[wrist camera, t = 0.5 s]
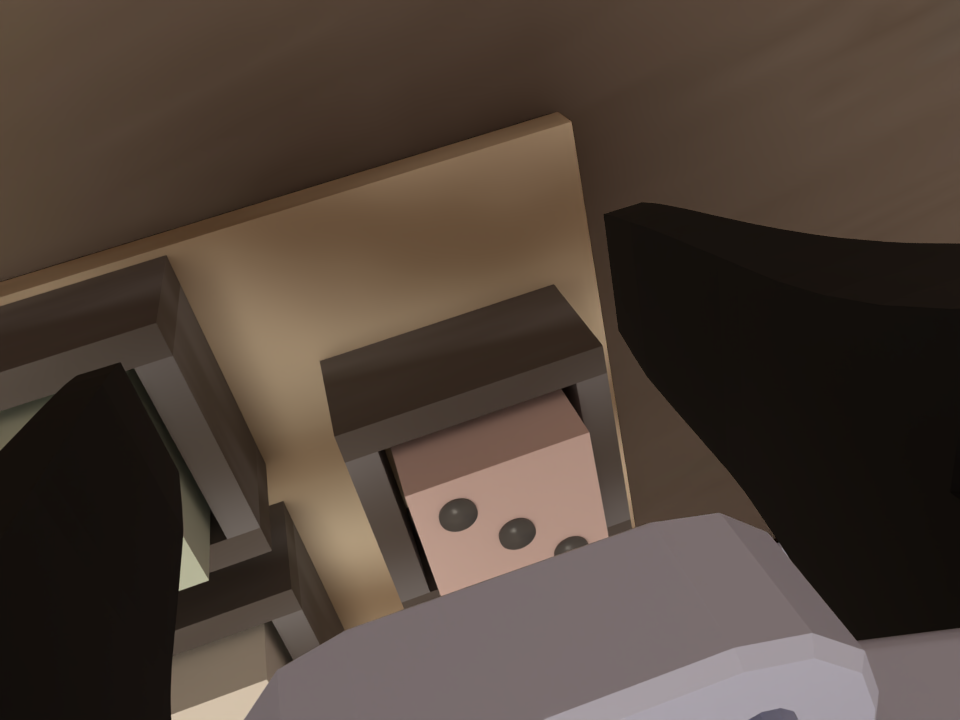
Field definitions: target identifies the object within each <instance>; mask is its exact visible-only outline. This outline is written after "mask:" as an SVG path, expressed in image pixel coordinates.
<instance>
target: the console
mask: <svg viewBox="0 0 960 720" xmlns="http://www.w3.org/2000/svg"><path fill="white" fill-rule="evenodd" d="M119 362H121V364H122V366H123V368H124V369H125V371H127V370H130V369H133V368H134V369H135V371H136V373H137V375H138V376H139V378H140V380H141V382H142V384H143V386H144V387H145V389H146V391H147V393H148V395H149V396H150V398H151V400H152V402H153V404H154V406H155V407H156V409H157V411H158V413H159V415H160V417H161V418H162V420H163V422H164V424H165V426H166V428H167V429H168V431H169V433H170V435H171V437H172V439H173V440H174V442H175V444H176V446H177V448H178V450H179V451H180V453H181V455H182V457H183V459H184V461H185V462H186V464H187V466H188V468H189V470H190V472H191V473H192V475H193V477H194V479H195V481H196V483H197V484H198V486H199V488H200V490H201V492H202V494H203V495H204V497H205V499H206V501H207V503H208V505H209V506H210V508H211V510H210V556H209V581H206V582H203V583H200V584H197V585H195V586H192V587H189V588H186V589H183V590H180V591H179V593H178V604H177V614H176V625H175V636H174V647H173V656H175V655H178V654H180V653H183V652H186V651H189V650H191V649H194V648H197V647H200V646H203V645H205V644H208V643H211V642H214V641H216V640H219V639H222V638H225V637H228V636H230V635H233V634H236V633H239V632H241V631H244V630H247V629H250V628H253V627H255V626H258V625H261V624H264V623H266V622H269V621H272V622H273V624H274V626H275V627H276V629H277V631H278V633H279V635H280V637H281V638H282V640H283V642H284V644H285V646H286V648H287V649H288V651H289V653H290V655H291V657H292V658H293V660H295V659H296V658H298V657H300V656H302V655H303V654H305V653H307V652H309V651H310V650H312V649H314V648H315V647H317V646H319V645H321V644H322V643H324V642H326V641H328V640H329V639H331V638H333V637H335V636H336V635H338V634H340V633H341V632H343V631H345V630H347V629H349V628H352V627H355V626H358V625H361V624H363V623H366V622H369V621H372V620H375V619H378V618H380V617H383V616H386V615H389V614H392V613H395V612H397V611H400V610H403V609H406V608H409V607H412V606H414V605H417V604H420V603H423V602H426V601H429V600H431V599H434V598H437V597H440V596H441V595H440V592H439V590H438V587H437V584H436V581H435V579H434V576H433V573H432V570H431V568H430V565H429V562H428V559H427V557H426V554H425V551H424V548H423V546H422V543H421V540H420V537H419V535H418V532H417V529H416V526H415V524H414V521H413V518H412V515H411V513H410V510H409V507H408V504H407V502H406V499H405V496H404V492H403V489H402V485H401V482H400V478H399V475H398V472H397V468H396V465H395V461H394V458H393V454H392V451H391V447H393V446H396V445H398V444H401V443H404V442H407V441H410V440H413V439H416V438H419V437H422V436H425V435H428V434H430V433H433V432H436V431H439V430H442V429H445V428H448V427H451V426H454V425H457V424H460V423H463V422H465V421H468V420H471V419H474V418H477V417H480V416H483V415H486V414H489V413H492V412H495V411H497V410H500V409H503V408H506V407H509V406H512V405H515V404H518V403H521V402H524V401H527V400H530V399H532V398H535V397H538V396H541V395H544V394H547V393H550V392H553V391H556V390H559V389H562V391H563V392H564V394H565V395H566V397H567V398H568V400H569V402H570V403H571V405H572V406H573V408H574V409H575V411H576V412H577V414H578V415H579V417H580V419H581V420H582V422H583V423H584V425H585V426H586V428H587V429H588V431H589V433H590V438H591V444H592V449H593V454H594V460H595V465H596V471H597V476H598V482H599V487H600V493H601V498H602V503H603V509H604V514H605V520H606V525H607V531H608V536H609V537H610V536H613V535H616V534H618V533H621V532H624V531H627V530H630V529H633V528H635V523H634V516H633V510H632V503H631V497H630V491H629V484H628V478H627V472H626V465H625V459H624V453H623V446H622V440H621V433H620V427H619V421H618V414H617V408H616V402H615V395H614V389H613V383H612V376H611V370H610V363H609V357H608V351H607V344H606V338H605V332H604V325H603V319H602V313H601V306H600V300H599V294H598V287H597V281H596V274H595V268H594V262H593V255H592V249H591V243H590V236H589V230H588V224H587V217H586V211H585V204H584V198H583V192H582V185H581V179H580V173H579V166H578V160H577V154H576V147H575V141H574V134H573V128H572V122H571V121H570V120H569V119H567V118H566V117H564V116H563V115H562V114H560V113H559V112H555V113H552V114H549V115H545V116H542V117H539V118H536V119H532V120H529V121H526V122H523V123H519V124H516V125H513V126H509V127H506V128H503V129H500V130H496V131H493V132H490V133H487V134H483V135H480V136H477V137H473V138H470V139H467V140H464V141H460V142H457V143H454V144H451V145H447V146H444V147H441V148H438V149H434V150H431V151H428V152H424V153H421V154H418V155H415V156H411V157H408V158H405V159H402V160H398V161H395V162H392V163H388V164H385V165H382V166H379V167H375V168H372V169H369V170H366V171H362V172H359V173H356V174H352V175H349V176H346V177H343V178H339V179H336V180H333V181H330V182H326V183H323V184H320V185H317V186H313V187H310V188H307V189H303V190H300V191H297V192H294V193H290V194H287V195H284V196H281V197H277V198H274V199H271V200H267V201H264V202H261V203H258V204H254V205H251V206H248V207H245V208H241V209H238V210H235V211H232V212H228V213H225V214H222V215H218V216H215V217H212V218H209V219H205V220H202V221H199V222H196V223H192V224H189V225H186V226H182V227H179V228H176V229H173V230H169V231H166V232H163V233H160V234H156V235H153V236H150V237H147V238H143V239H140V240H137V241H133V242H130V243H127V244H124V245H120V246H117V247H114V248H111V249H107V250H104V251H101V252H97V253H94V254H91V255H88V256H84V257H81V258H78V259H75V260H71V261H68V262H65V263H62V264H58V265H55V266H52V267H48V268H45V269H42V270H39V271H35V272H32V273H29V274H26V275H22V276H19V277H16V278H12V279H9V280H6V281H3V282H0V411H3V410H6V409H9V408H12V407H15V406H18V405H21V404H25V403H28V402H31V401H34V400H37V399H40V398H43V397H46V396H49V395H53V394H56V393H57V392H58V391H59V390H60V389H61V388H62V387H63V386H64V385H65V384H66V383H68V382H69V381H70V380H71V379H73V378H74V377H75V376H77V375H80V374H83V373H86V372H90V371H93V370H96V369H99V368H103V367H106V366H109V365H113V364H116V363H119Z"/></svg>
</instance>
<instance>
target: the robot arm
mask: <svg viewBox="0 0 960 720" xmlns="http://www.w3.org/2000/svg"><path fill="white" fill-rule="evenodd" d="M604 221H605V228H606V236H607V244H608V252H609V259H610V267H611V275H612V283H613V290H614V298H615V306H616V314H617V321H618V329H619V332H620V333H621V335H622V337H623V338H624V340H625V342H626V343H627V345H628V347H629V348H630V350H631V352H632V354H633V355H634V357H635V358H636V360H637V361H638V363H639V365H640V366H641V368H642V369H643V371H644V372H645V374H646V375H647V377H648V378H649V379H650V381H651V382H652V383H653V384H654V385H655V387H656V388H657V389H658V390H659V391H660V392H661V394H662V395H663V396H664V397H665V398H666V400H667V401H668V402H669V403H670V404H671V405H672V407H673V408H674V409H675V410H676V411H677V412H678V414H679V415H680V416H681V417H682V418H683V419H684V420H685V422H686V423H687V424H688V425H689V426H690V427H691V428H692V430H693V431H694V432H695V433H696V434H697V435H698V436H699V438H700V439H701V440H702V441H703V442H704V443H705V444H706V446H707V447H708V448H709V449H710V450H711V451H712V453H713V454H714V455H715V456H716V457H717V458H718V459H719V461H720V462H721V463H722V464H723V465H724V466H725V467H726V469H727V470H728V471H729V472H730V474H731V475H732V476H733V477H734V479H735V480H736V481H737V482H738V484H739V485H740V486H741V488H742V489H743V490H744V491H745V493H746V494H747V496H748V497H749V499H750V500H751V501H752V503H753V504H754V506H755V507H756V509H757V510H758V512H759V513H760V515H761V516H762V518H763V519H764V521H765V522H766V524H767V525H768V527H769V528H770V529H771V531H772V532H773V534H774V535H775V537H776V538H777V540H778V541H779V543H776V542H775V541H774V539H773V538H772V537H771V536H770V535H769V533H768V532H765V531H763V530H761V529H758V528H756V527H753V526H751V525H748V524H746V523H744V522H741V521H739V520H736V519H734V518H731V517H729V516H726V515H724V514H722V513H715V514H708V515H701V516H694V517H687V518H680V519H673V520H666V521H659V522H652V523H647V524H644V525H641V526H638V527H635V528H633V529H630V530H627V531H624V532H621V533H618V534H616V535H613V536H610V537H607V538H604V539H601V540H599V541H596V542H593V543H590V544H587V545H584V546H582V547H579V548H576V549H573V550H570V551H567V552H565V553H562V554H559V555H556V556H553V557H550V558H548V559H545V560H542V561H539V562H536V563H533V564H531V565H528V566H525V567H522V568H519V569H516V570H514V571H511V572H508V573H505V574H502V575H499V576H497V577H494V578H491V579H488V580H485V581H482V582H480V583H477V584H474V585H471V586H468V587H465V588H463V589H460V590H457V591H454V592H451V593H448V594H446V595H443V596H440V597H437V598H434V599H431V600H429V601H426V602H423V603H420V604H417V605H414V606H412V607H409V608H406V609H403V610H400V611H397V612H395V613H392V614H389V615H386V616H383V617H380V618H378V619H375V620H372V621H369V622H366V623H363V624H361V625H358V626H355V627H352V628H349V629H347V630H345V631H343V632H341V633H340V634H338V635H336V636H335V637H333V638H331V639H329V640H328V641H326V642H324V643H322V644H321V645H319V646H317V647H315V648H314V649H312V650H310V651H309V652H307V653H305V654H303V655H302V656H300V657H298V658H296V659H295V660H293V661H291V662H289V663H288V664H286V665H284V666H283V667H281V668H280V669H278V670H277V671H276V672H275V674H274V675H273V677H272V678H271V680H270V681H269V683H268V684H267V686H266V687H265V689H264V690H263V692H262V693H261V695H260V696H259V698H258V699H257V701H256V702H255V704H254V705H253V707H252V708H251V710H250V711H249V713H248V714H247V716H246V717H245V719H244V720H960V244H934V243H896V242H881V241H869V240H857V239H845V238H836V237H828V236H820V235H813V234H807V233H801V232H795V231H789V230H782V229H777V228H771V227H766V226H761V225H756V224H751V223H746V222H741V221H737V220H732V219H728V218H723V217H719V216H714V215H710V214H705V213H701V212H696V211H692V210H687V209H683V208H678V207H673V206H667V205H662V204H655V203H639V204H636V205H632V206H629V207H626V208H623V209H619V210H616V211H613V212H609V213H606V214H604ZM183 531H184V529H183V512H182V498H181V487H180V476H179V471H178V469H177V467H176V465H175V464H174V462H173V460H172V458H171V456H170V454H169V452H168V450H167V448H166V447H165V445H164V443H163V441H162V439H161V437H160V435H159V433H158V432H157V430H156V428H155V426H154V424H153V422H152V420H151V418H150V417H149V415H148V413H147V411H146V409H145V407H144V405H143V403H142V401H141V400H140V398H139V396H138V394H137V392H136V390H135V388H134V386H133V385H132V383H131V381H130V379H129V377H128V375H127V373H126V371H125V369H124V368H123V366H122V364H121V362H119V363H116V364H113V365H109V366H106V367H103V368H99V369H96V370H93V371H90V372H86V373H83V374H80V375H77V376H75V377H74V378H73V379H71V380H70V381H69V382H68V383H66V384H65V385H64V386H63V387H62V388H61V389H60V390H59V391H58V392H57V393H56V394H55V395H54V396H53V397H52V398H51V399H50V400H49V401H48V402H47V403H46V404H45V405H44V406H43V407H42V408H41V409H40V410H39V411H38V412H37V413H36V414H35V415H34V416H33V417H32V418H31V419H30V420H29V421H28V422H27V423H26V424H25V425H24V426H23V427H22V428H21V430H20V431H19V432H18V433H17V434H16V435H15V436H14V437H13V438H12V439H11V440H10V441H9V442H8V443H7V444H6V445H5V446H4V447H3V448H2V449H1V450H0V720H171V674H172V658H173V647H174V636H175V625H176V614H177V604H178V593H179V582H180V570H181V558H182V546H183Z"/></svg>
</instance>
